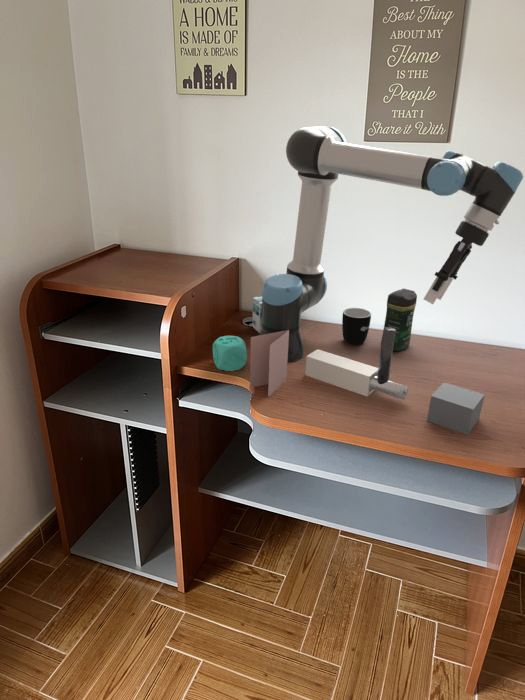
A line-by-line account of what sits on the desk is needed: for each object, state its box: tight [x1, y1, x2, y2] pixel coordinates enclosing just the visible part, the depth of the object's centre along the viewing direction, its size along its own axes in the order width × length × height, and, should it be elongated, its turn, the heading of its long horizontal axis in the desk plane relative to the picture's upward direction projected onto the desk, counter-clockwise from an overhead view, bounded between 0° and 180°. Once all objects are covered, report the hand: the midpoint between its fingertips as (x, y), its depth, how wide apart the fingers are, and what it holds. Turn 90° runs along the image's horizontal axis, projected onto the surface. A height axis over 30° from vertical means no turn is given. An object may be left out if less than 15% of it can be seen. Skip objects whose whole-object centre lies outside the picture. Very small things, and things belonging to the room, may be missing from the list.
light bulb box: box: [251, 296, 262, 334], centre depth 182 cm, size 11×7×11 cm, turn 114°
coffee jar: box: [380, 287, 418, 352], centre depth 170 cm, size 10×8×19 cm
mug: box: [341, 307, 372, 346], centre depth 175 cm, size 12×9×10 cm
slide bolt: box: [370, 327, 409, 400], centre depth 143 cm, size 26×4×18 cm, turn 53°
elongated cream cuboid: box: [304, 348, 379, 397], centre depth 149 cm, size 20×6×6 cm, turn 53°
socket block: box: [426, 382, 485, 436], centre depth 132 cm, size 10×9×7 cm
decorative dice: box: [212, 335, 248, 372], centre depth 156 cm, size 8×8×8 cm
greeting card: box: [249, 330, 289, 398], centre depth 143 cm, size 11×7×15 cm, turn 118°
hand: (432, 299), depth 143 cm, fingers open, 13 cm apart
